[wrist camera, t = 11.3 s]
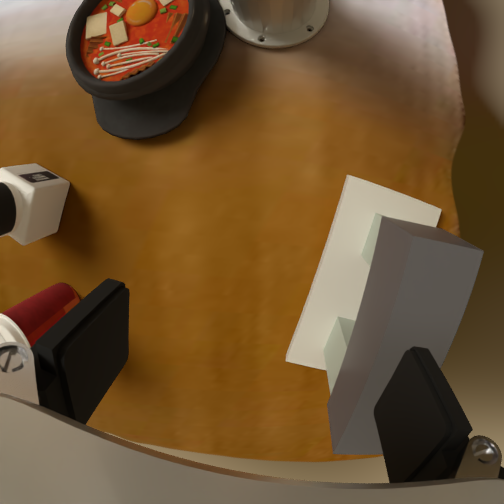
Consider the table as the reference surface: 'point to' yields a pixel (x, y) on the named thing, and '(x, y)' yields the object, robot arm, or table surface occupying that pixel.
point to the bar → (399, 321)
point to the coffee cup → (37, 314)
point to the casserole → (144, 60)
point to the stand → (348, 271)
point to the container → (30, 202)
